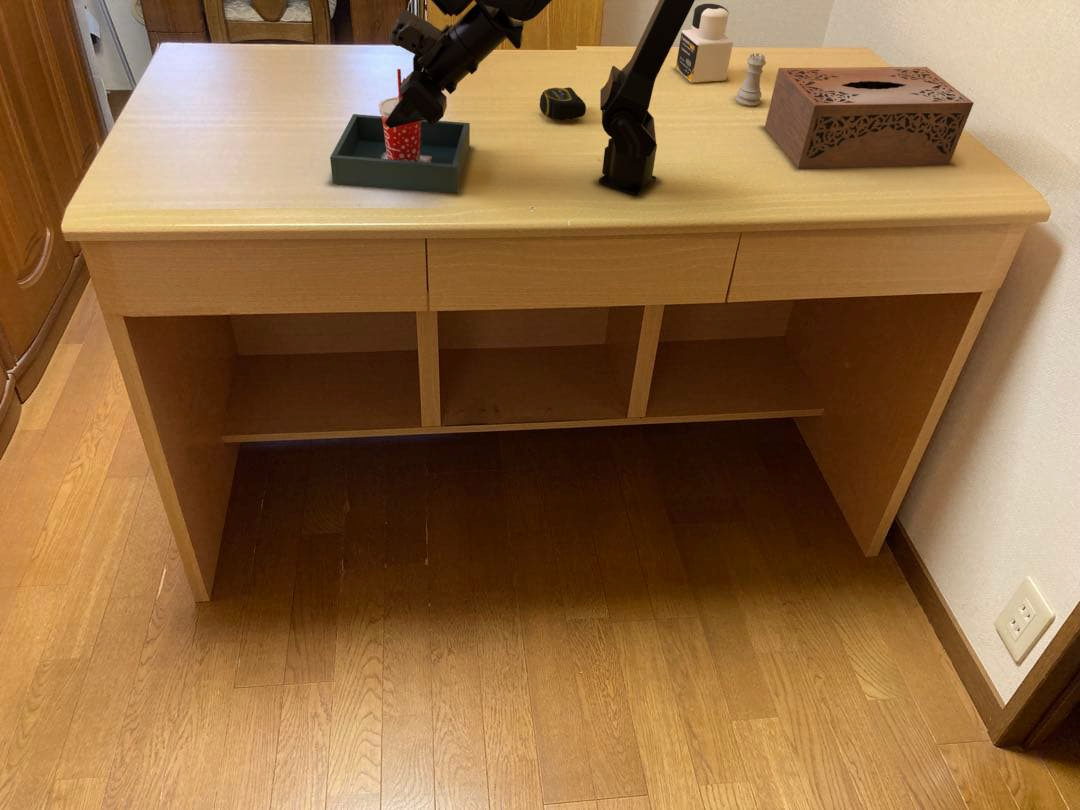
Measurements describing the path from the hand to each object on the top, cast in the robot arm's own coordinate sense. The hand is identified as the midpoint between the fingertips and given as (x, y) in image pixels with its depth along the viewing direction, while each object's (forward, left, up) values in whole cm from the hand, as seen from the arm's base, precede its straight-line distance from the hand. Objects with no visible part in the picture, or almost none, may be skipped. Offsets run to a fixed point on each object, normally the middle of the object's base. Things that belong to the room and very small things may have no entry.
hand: (391, 115), depth 122 cm
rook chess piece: (-32, -57, -8) cm, 66 cm away
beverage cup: (-1, -1, -8) cm, 8 cm away
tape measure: (-10, -31, -8) cm, 34 cm away
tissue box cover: (-53, -52, -8) cm, 75 cm away
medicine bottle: (-20, -63, -8) cm, 67 cm away
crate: (-1, -1, -7) cm, 7 cm away
